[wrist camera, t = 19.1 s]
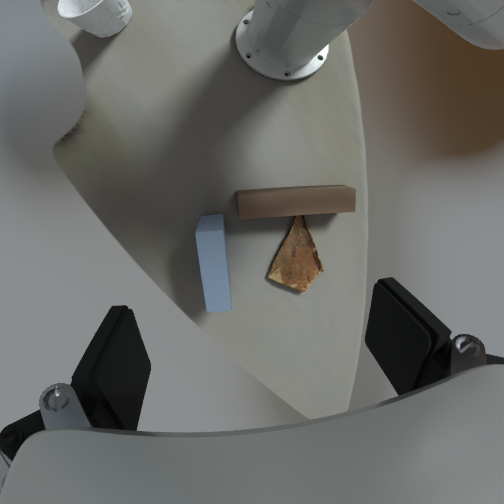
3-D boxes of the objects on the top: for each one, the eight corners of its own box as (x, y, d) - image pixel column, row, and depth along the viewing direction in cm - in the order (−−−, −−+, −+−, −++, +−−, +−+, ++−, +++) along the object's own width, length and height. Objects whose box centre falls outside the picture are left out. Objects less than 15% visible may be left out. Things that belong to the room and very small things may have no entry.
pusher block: (209, 282, 40) (207, 312, 33) (201, 215, 37) (195, 232, 29) (230, 280, 41) (231, 310, 33) (223, 213, 37) (223, 230, 30)
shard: (298, 207, 38) (301, 210, 36) (341, 229, 40) (346, 232, 38) (264, 273, 41) (266, 278, 40) (307, 290, 43) (311, 295, 41)
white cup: (105, 50, 27) (74, 27, 17) (79, 28, 24) (48, 5, 15) (146, 13, 25) (127, -20, 16) (118, -7, 23) (95, -37, 13)
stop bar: (236, 190, 36) (237, 195, 32) (343, 184, 37) (355, 189, 33) (238, 212, 37) (239, 220, 33) (343, 205, 38) (355, 211, 34)
